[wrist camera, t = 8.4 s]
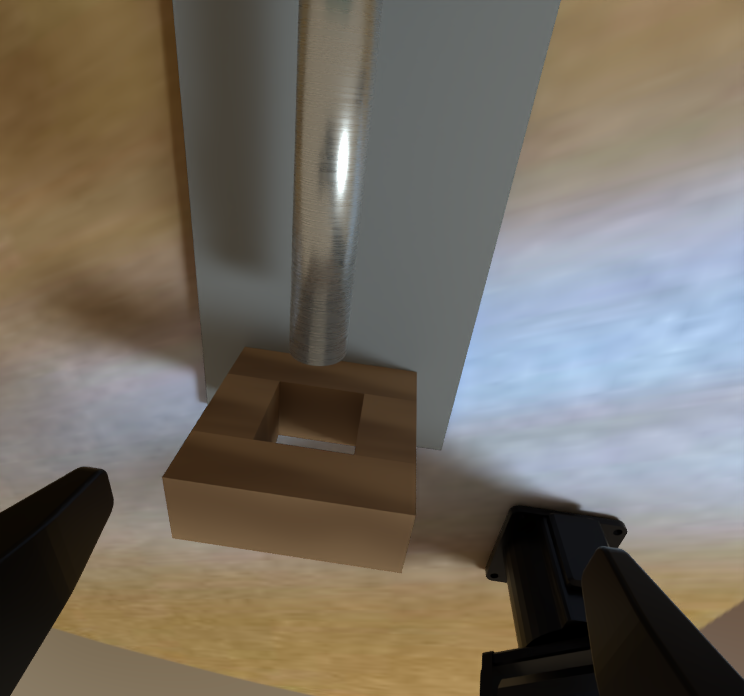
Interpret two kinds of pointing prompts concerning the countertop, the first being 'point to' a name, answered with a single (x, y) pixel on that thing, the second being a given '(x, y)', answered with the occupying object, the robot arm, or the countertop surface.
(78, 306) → the countertop surface
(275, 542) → the square wooden collar
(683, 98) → the countertop surface
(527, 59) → the base board
